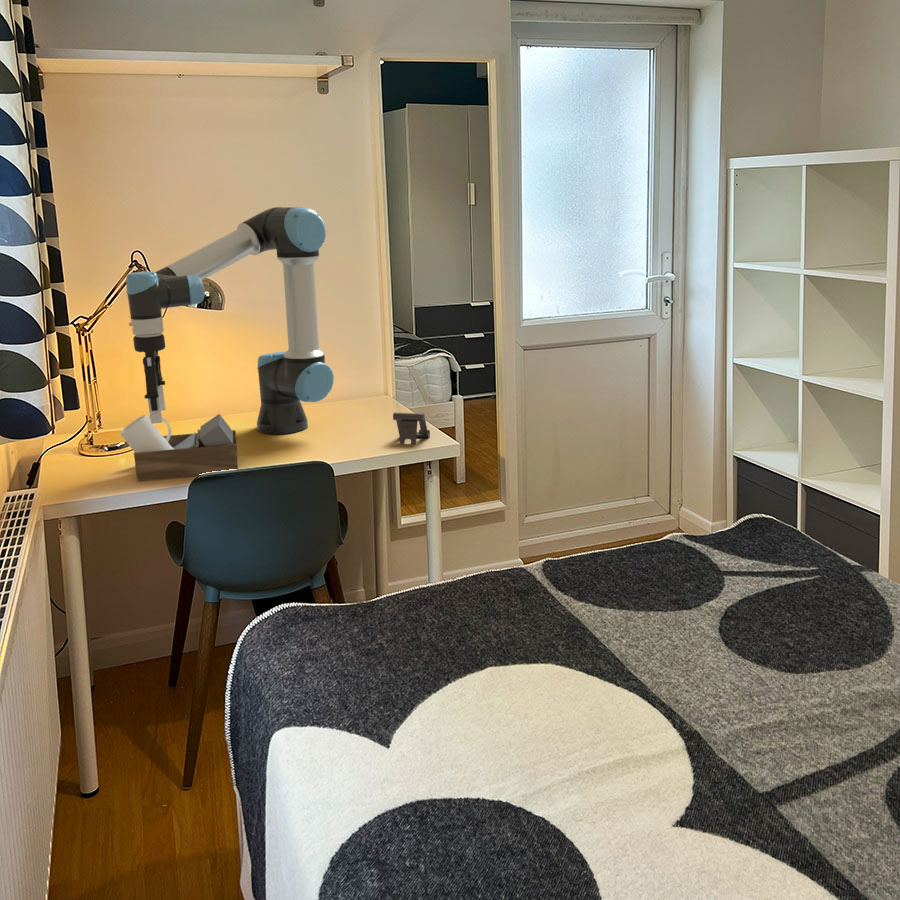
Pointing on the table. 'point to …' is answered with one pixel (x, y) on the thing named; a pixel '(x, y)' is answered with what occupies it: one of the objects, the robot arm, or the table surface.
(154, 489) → the table surface
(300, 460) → the table surface
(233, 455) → the brown wooden box
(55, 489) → the table surface
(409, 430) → the portable electronic device stand
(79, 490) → the table surface
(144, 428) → the mug
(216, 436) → the trapdoor
